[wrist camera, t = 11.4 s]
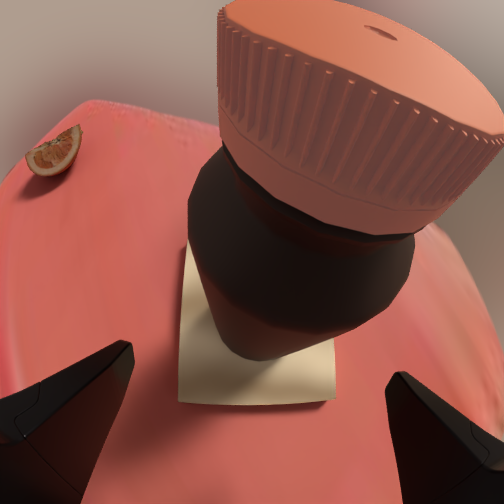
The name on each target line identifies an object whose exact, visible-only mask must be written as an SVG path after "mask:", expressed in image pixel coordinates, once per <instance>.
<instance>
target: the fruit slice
mask: <svg viewBox="0 0 504 504" xmlns="http://www.w3.org/2000/svg"><path fill="white" fill-rule="evenodd" d="M82 133H83V131H81V127H80V124H78V125H76V126H74V127H71V128H70V129H68V130H66V131H64V132H63V133H61V134H60V135H58V137H57V138H56V139H54V140H52V141H49V142H45V143H43V144H42V145H40V146H38V147H37V148H34V149H33V150H31V151H30V152H28V153H27V154H26V155H25V158H26V161H27V165H28V167H29V169H30V170H31V171H32V172H33V173H35V174H36V175H39V176H54V175H57V174H60V173H61V172H63V171H65V170H66V169H67V168H69V166H70V165H71V164H72V163H73V162H74V160H75V158H76V156H77V154H78V151H79V148H80V145H81V140H82V137H81V135H82Z"/></svg>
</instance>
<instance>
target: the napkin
mask: <svg viewBox="0 0 504 504" xmlns="http://www.w3.org/2000/svg"><path fill="white" fill-rule="evenodd" d="M333 399H336V381H335V354H334V338H331V339H329V340H326V341H324V342H321V343H319V344H316V345H314V346H311V347H308V348H306V349H303V350H300V351H297V352H295V353H292V354H289V355H286V356H283V357H280V358H277V359H274V360H268V361H260V362H258V361H253V360H248V359H244V358H242V357H240V356H239V355H237V354H235V353H233V352H232V351H231V350H230V349H229V348H228V347H227V346H226V345H225V344H224V343H223V341H222V339H221V337H220V335H219V333H218V330H217V328H216V325H215V322H214V319H213V316H212V313H211V310H210V307H209V304H208V301H207V298H206V295H205V292H204V289H203V286H202V283H201V280H200V277H199V273H198V270H197V267H196V264H195V261H194V257H193V254H192V251H191V247H190V244H189V240H188V241H187V250H186V260H185V270H184V281H183V293H182V307H181V322H180V340H179V366H178V402H185V403H198V404H217V405H273V404H292V403H305V402H316V401H325V400H333Z"/></svg>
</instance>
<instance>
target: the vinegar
mask: <svg viewBox="0 0 504 504" xmlns="http://www.w3.org/2000/svg"><path fill="white" fill-rule="evenodd" d="M217 87H218V113H219V129H220V137H221V138H222V145H223V146H222V147H221V148H220V149H219V150H218V151H217V152H216V153H215V154H214V155H213V156H212V157H211V158H210V159H209V160H208V161H207V163H206V164H205V165H204V166H203V167H202V168H201V170H200V172H199V174H198V176H197V179H196V181H195V184H194V186H193V189H192V191H191V194H190V196H189V199H188V240H189V244H190V247H191V251H192V254H193V257H194V261H195V264H196V267H197V270H198V273H199V277H200V280H201V283H202V286H203V289H204V292H205V295H206V298H207V301H208V304H209V307H210V310H211V313H212V316H213V319H214V322H215V325H216V328H217V330H218V333H219V335H220V337H221V339H222V341H223V343H224V344H225V345H226V346H227V347H228V348H229V349H230V350H231V351H232V352H233V353H235V354H237V355H239V356H240V357H242V358H244V359H248V360H253V361H258V362H260V361H268V360H274V359H277V358H280V357H283V356H286V355H289V354H292V353H295V352H297V351H300V350H303V349H306V348H308V347H311V346H314V345H316V344H319V343H321V342H324V341H326V340H329V339H331V338H334V337H336V336H339V335H341V334H344V333H346V332H348V331H351V330H353V329H355V328H357V327H359V326H360V325H362V324H363V323H365V322H367V321H368V320H370V319H371V318H373V317H374V316H376V315H377V314H379V313H380V312H382V311H384V310H385V309H386V308H387V307H389V305H390V304H391V302H392V301H393V300H394V298H395V297H396V295H397V294H398V292H399V291H400V289H401V288H402V286H403V285H404V283H405V282H406V280H407V278H408V276H409V272H410V268H411V263H412V259H413V254H414V249H415V238H414V234H415V233H417V232H419V231H420V230H422V229H423V228H424V227H425V226H426V225H427V224H429V223H431V222H433V221H434V220H436V219H437V218H439V217H440V216H441V215H442V214H443V213H444V212H445V211H446V210H447V209H448V208H449V207H450V206H451V205H452V204H453V203H454V202H455V201H456V200H457V199H458V197H460V196H461V195H462V193H463V192H464V191H465V190H466V189H467V188H468V187H469V186H470V184H471V183H472V182H473V181H474V180H475V179H476V178H477V177H478V176H479V175H480V174H481V172H482V171H483V170H484V169H485V168H486V167H487V166H488V164H489V163H490V162H491V161H492V160H493V159H494V157H495V156H496V155H497V154H498V153H499V151H500V150H501V149H502V148H503V147H504V115H503V113H502V111H501V109H500V107H499V105H498V103H497V102H496V100H495V99H494V98H493V96H492V95H491V94H490V93H489V91H488V90H487V89H486V88H485V86H484V85H483V84H482V83H481V82H480V81H479V80H478V79H477V78H476V77H475V76H474V75H473V74H472V73H471V72H470V71H469V70H468V69H467V68H466V67H464V66H463V65H462V64H461V63H460V62H459V61H458V60H456V59H455V58H454V57H453V56H451V55H450V54H449V53H447V52H446V51H444V50H443V49H441V48H440V47H439V46H437V45H436V44H434V43H433V42H431V41H430V40H428V39H426V38H425V37H423V36H422V35H419V34H418V33H416V32H414V31H413V30H411V29H409V28H407V27H405V26H403V25H401V24H399V23H397V22H395V21H393V20H390V19H388V18H386V17H384V16H381V15H379V14H376V13H374V12H371V11H368V10H365V9H362V8H359V7H356V6H352V5H349V4H346V3H342V2H338V1H333V0H235V1H233V2H232V3H230V4H228V5H226V6H225V7H222V9H221V10H219V13H218V16H217Z"/></svg>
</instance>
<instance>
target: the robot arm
mask: <svg viewBox="0 0 504 504" xmlns="http://www.w3.org/2000/svg"><path fill="white" fill-rule="evenodd" d="M134 365H135V359H134V353H133V346H132V343H131V342H128V341H124V340H118V341H116V342H114V343H112V344H111V345H109V346H107V347H105V348H103V349H101V350H99V351H97V352H96V353H94V354H92V355H90V356H88V357H86V358H84V359H82V360H80V361H78V362H77V363H75V364H73V365H71V366H69V367H67V368H65V369H63V370H61V371H59V372H57V373H56V374H54V375H52V376H50V377H48V378H46V379H44V380H42V381H41V382H38V383H36V384H34V385H32V386H30V387H28V388H26V389H24V390H22V391H19V392H17V393H15V394H12V395H10V396H7V397H4V398H2V399H0V504H81V501H82V498H83V497H82V496H83V495H84V492H85V490H86V487H87V485H88V482H89V479H90V477H91V474H92V472H93V469H94V467H95V464H96V462H97V459H98V457H99V455H100V452H101V450H102V448H103V445H104V443H105V440H106V438H107V436H108V434H109V431H110V429H111V427H112V424H113V422H114V420H115V418H116V416H117V413H118V411H119V409H120V407H121V404H122V402H123V399H124V396H125V393H126V390H127V386H128V383H129V380H130V377H131V374H132V371H133V368H134ZM385 398H386V405H387V413H388V421H389V428H390V433H391V438H392V443H393V447H394V452H395V457H396V463H397V468H398V474H399V480H400V486H401V493H402V500H403V504H504V442H502V441H500V440H499V439H497V438H495V437H494V436H492V435H491V434H489V433H488V432H486V431H484V430H483V429H482V428H480V427H479V426H478V425H476V424H475V423H474V422H472V421H471V420H469V419H468V418H467V417H465V416H464V415H463V414H462V413H460V412H459V411H458V410H456V409H455V408H454V407H452V406H451V405H450V404H448V403H447V402H446V401H444V400H443V399H442V398H440V397H439V396H438V395H436V394H435V393H434V392H432V391H431V390H430V389H428V388H427V387H426V386H424V385H423V384H422V383H420V382H419V381H418V380H416V379H415V378H414V377H412V376H411V375H410V374H409V373H407V372H405V371H398V372H395V373H394V374H393V376H392V378H391V379H390V381H389V383H388V384H387V386H386V388H385Z"/></svg>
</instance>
